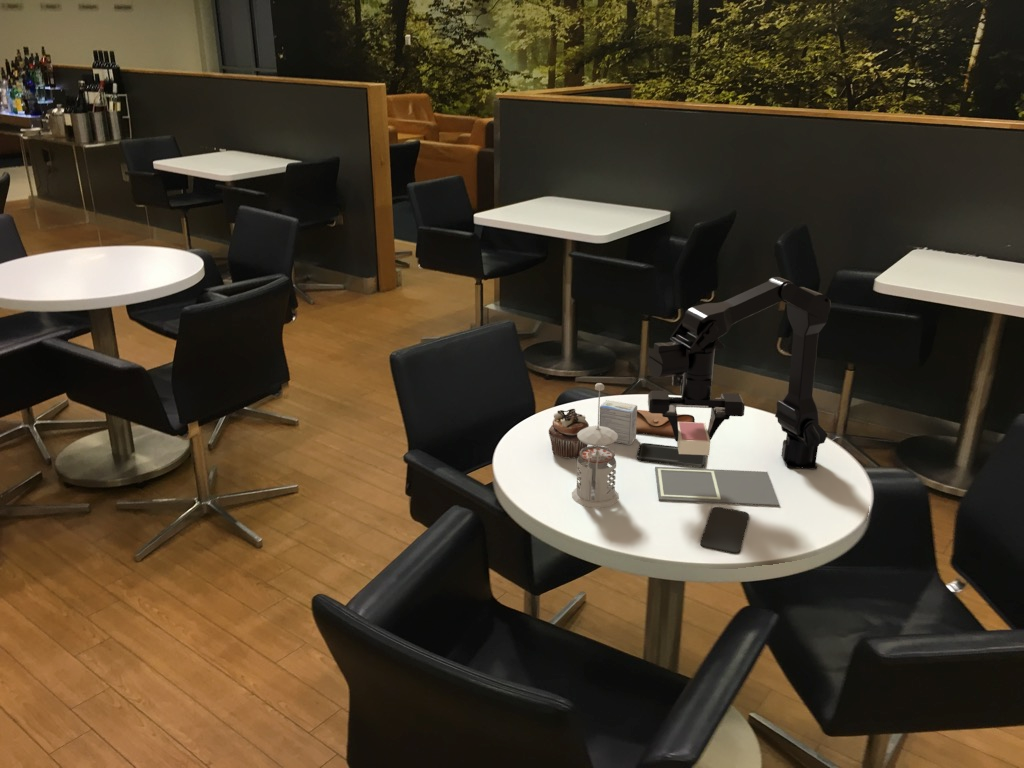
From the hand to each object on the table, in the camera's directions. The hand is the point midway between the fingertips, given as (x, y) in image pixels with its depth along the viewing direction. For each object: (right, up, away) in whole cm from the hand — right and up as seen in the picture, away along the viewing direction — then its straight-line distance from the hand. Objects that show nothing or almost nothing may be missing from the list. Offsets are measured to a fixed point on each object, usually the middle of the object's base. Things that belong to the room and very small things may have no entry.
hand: (692, 441), depth 174 cm
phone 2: (-1, -5, +16) cm, 17 cm away
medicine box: (-12, -1, +25) cm, 28 cm away
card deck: (0, -1, 0) cm, 1 cm away
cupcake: (-24, -4, +19) cm, 31 cm away
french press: (-20, -12, -1) cm, 23 cm away
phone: (+4, -17, -12) cm, 21 cm away
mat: (+5, -10, +3) cm, 12 cm away
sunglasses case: (-2, 0, +30) cm, 30 cm away
